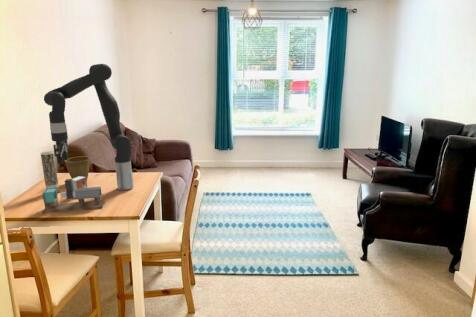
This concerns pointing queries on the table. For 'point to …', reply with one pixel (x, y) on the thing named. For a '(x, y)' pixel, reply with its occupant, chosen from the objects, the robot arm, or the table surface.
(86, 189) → the sleeve
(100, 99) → the robot arm
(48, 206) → the rig base
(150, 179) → the table surface
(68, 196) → the grey block with post
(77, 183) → the small box
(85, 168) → the plant pot
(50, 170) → the paper tube
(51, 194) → the socket
